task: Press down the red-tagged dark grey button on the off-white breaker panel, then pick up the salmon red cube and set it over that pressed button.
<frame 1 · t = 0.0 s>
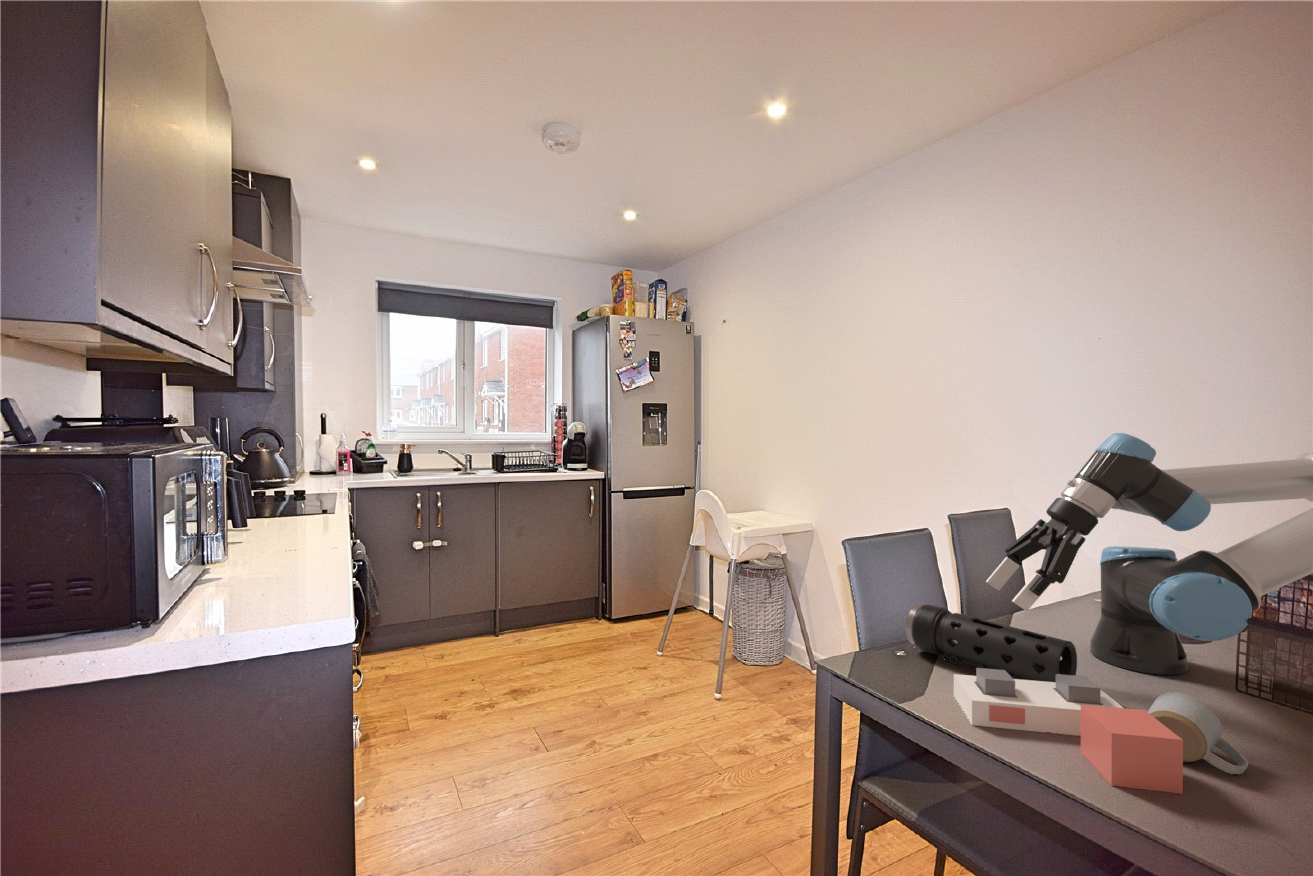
hand: (1004, 595, 109), 15 cm above the table, tool tilted 35°, fingers open, 13 cm apart
button plain: (1077, 693, 92), point 5 cm above the table, slide at 0.0 cm
salmon red cube: (1128, 771, 78), on the table
button tagged: (995, 686, 94), point 5 cm above the table, slide at 0.0 cm
ceramic mug: (1193, 757, 82), on the table
muzzle brake: (983, 673, 111), on the table
breaker panel: (1035, 717, 93), on the table
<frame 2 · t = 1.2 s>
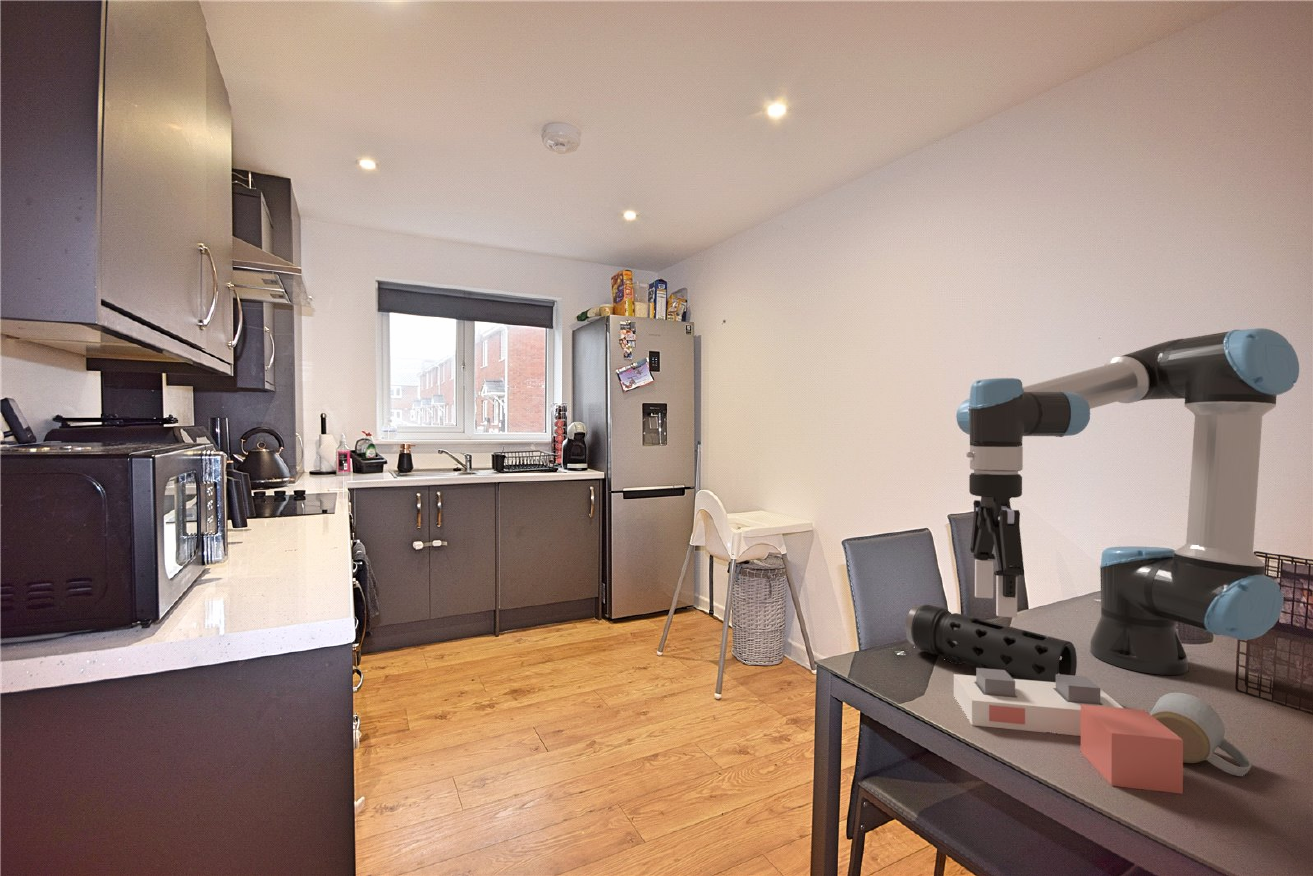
hand: (994, 606, 94), 18 cm above the table, tool pointing down, fingers open, 10 cm apart
nothing on the table moved.
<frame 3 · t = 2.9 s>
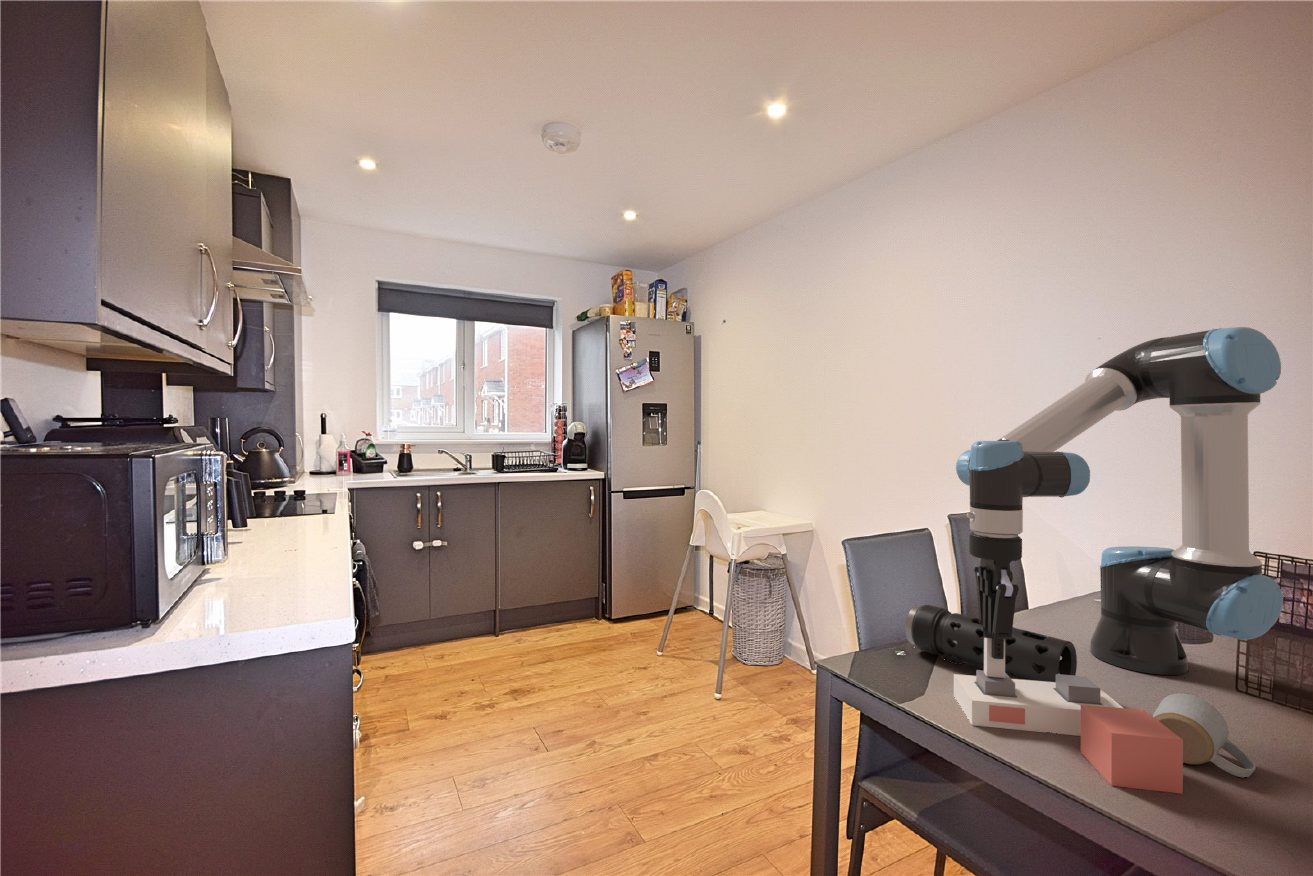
hand: (994, 675, 94), 6 cm above the table, tool pointing down, fingers closed
button tagged: (995, 688, 94), point 4 cm above the table, slide at 0.4 cm, touching gripper
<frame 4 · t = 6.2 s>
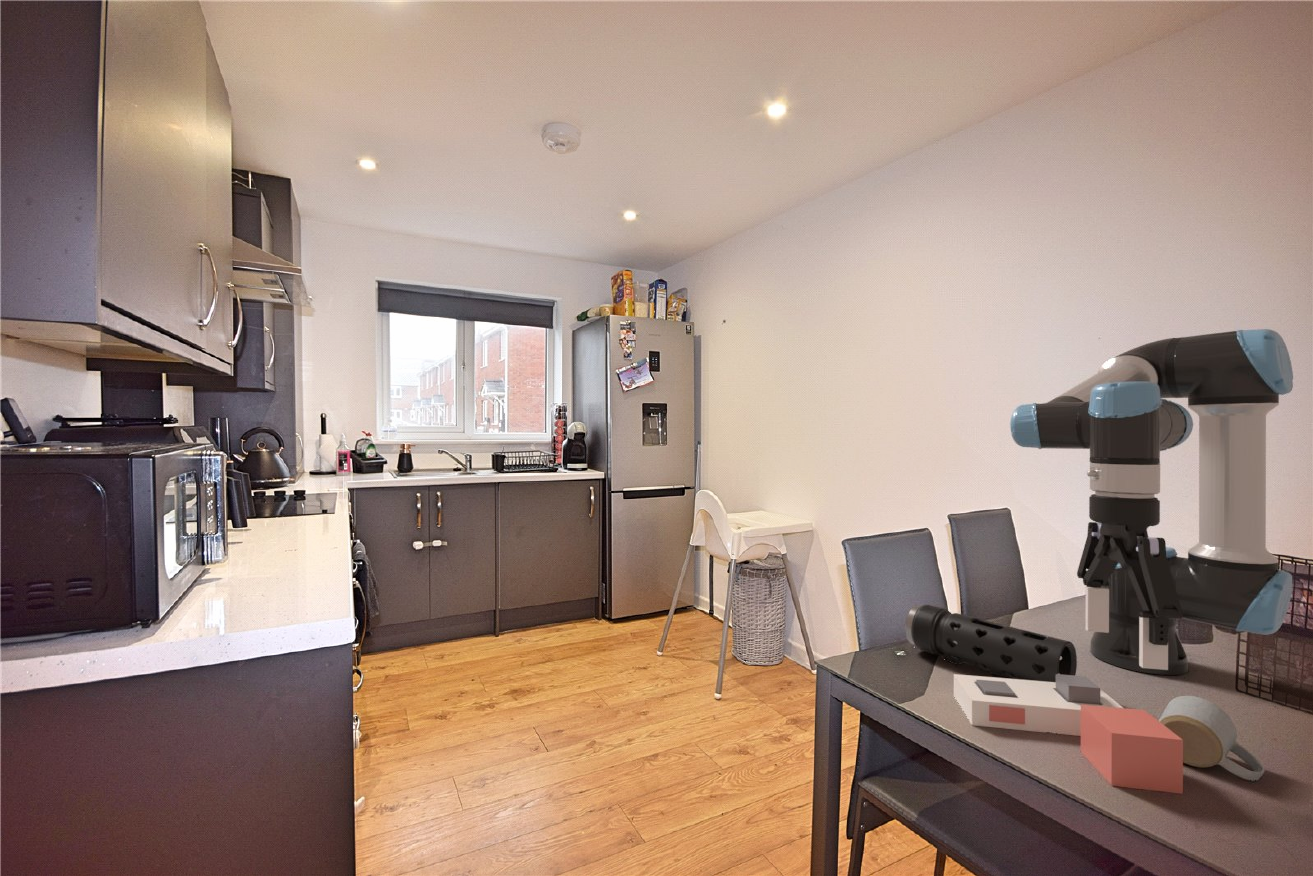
hand: (1122, 648, 78), 17 cm above the table, tool pointing down, fingers open, 13 cm apart
button tagged: (995, 698, 94), point 2 cm above the table, slide at 2.0 cm, touching breaker panel
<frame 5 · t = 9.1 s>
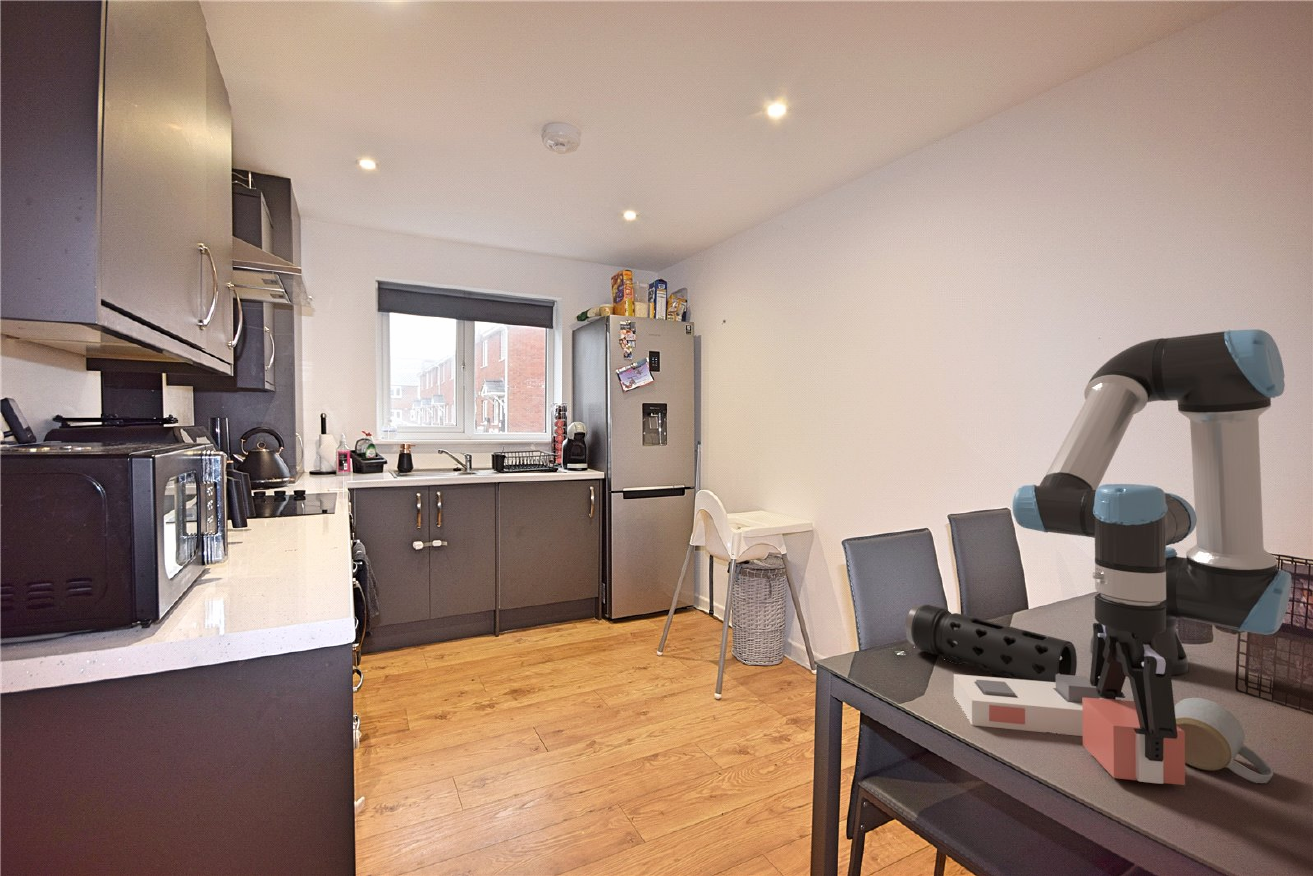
hand: (1129, 761, 78), 1 cm above the table, tool pointing down, fingers closed on salmon red cube, 8 cm apart
salmon red cube: (1130, 763, 78), point 1 cm above the table, touching gripper
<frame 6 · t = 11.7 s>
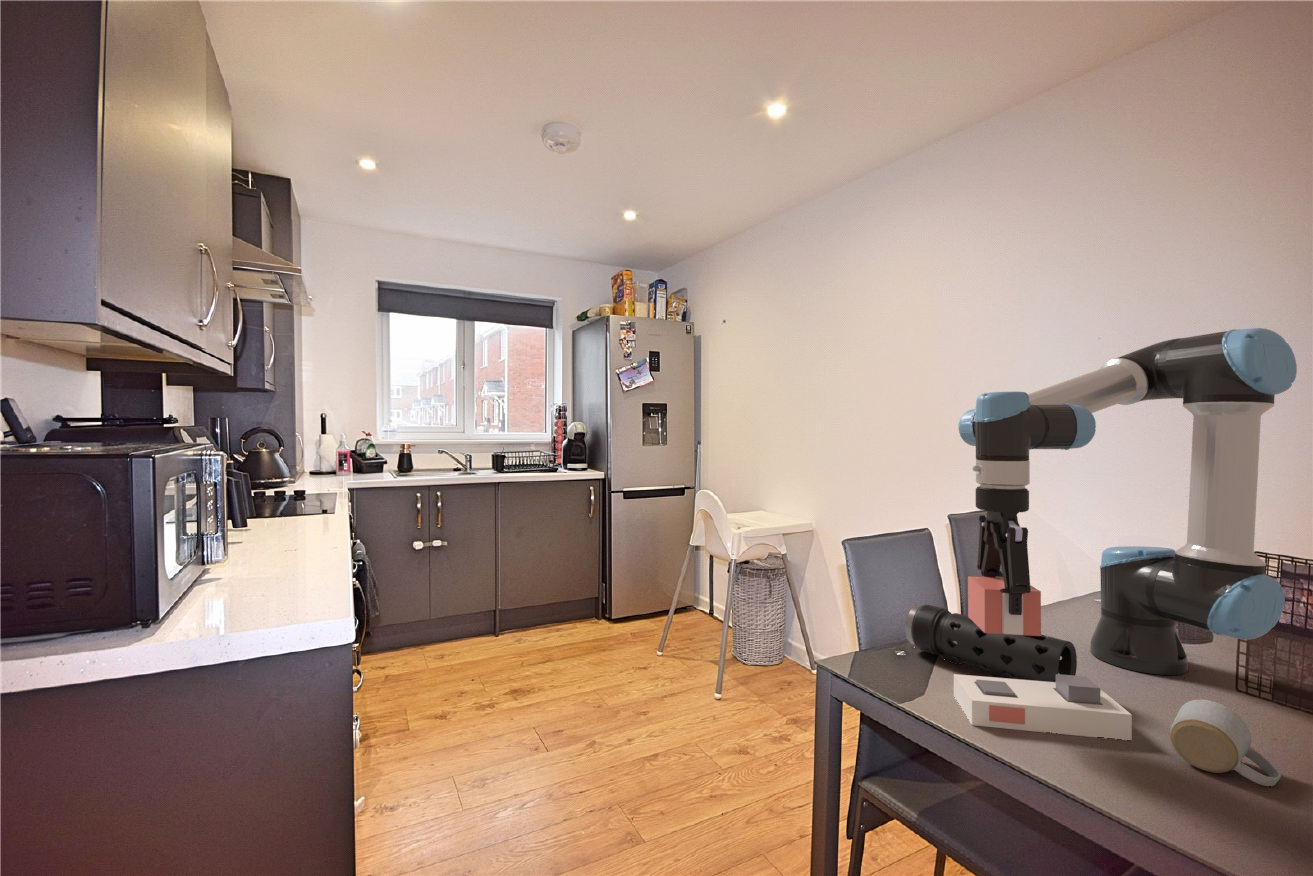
hand: (1001, 624, 93), 15 cm above the table, tool pointing down, fingers closed on salmon red cube, 8 cm apart
salmon red cube: (1002, 626, 93), point 15 cm above the table, touching gripper
when the fingers open (6 cm above the table, at t = 14.1 s): salmon red cube drops 1 cm, resting on breaker panel.
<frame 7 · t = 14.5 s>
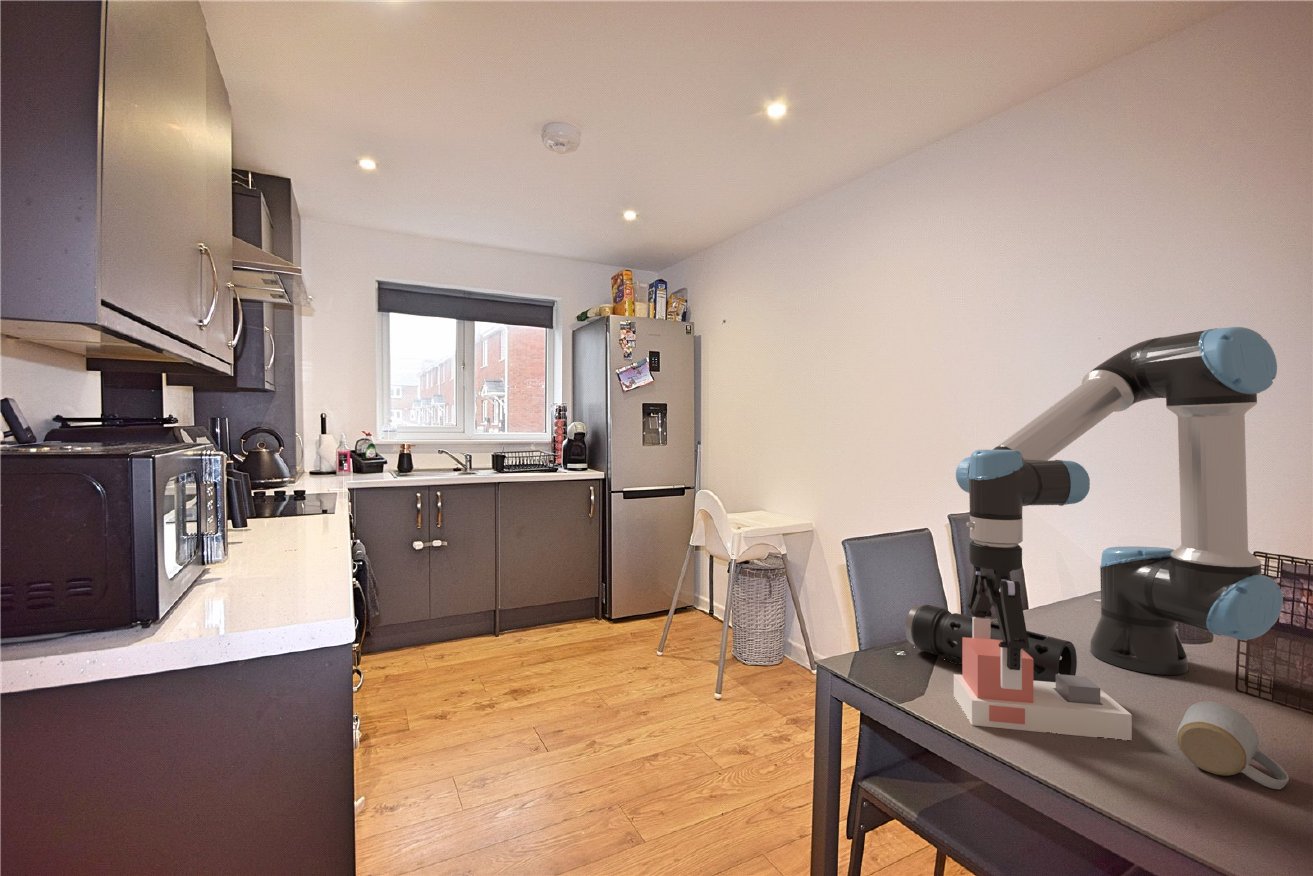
hand: (995, 670, 94), 7 cm above the table, tool pointing down, fingers open, 13 cm apart
salmon red cube: (996, 689, 94), point 4 cm above the table, touching breaker panel
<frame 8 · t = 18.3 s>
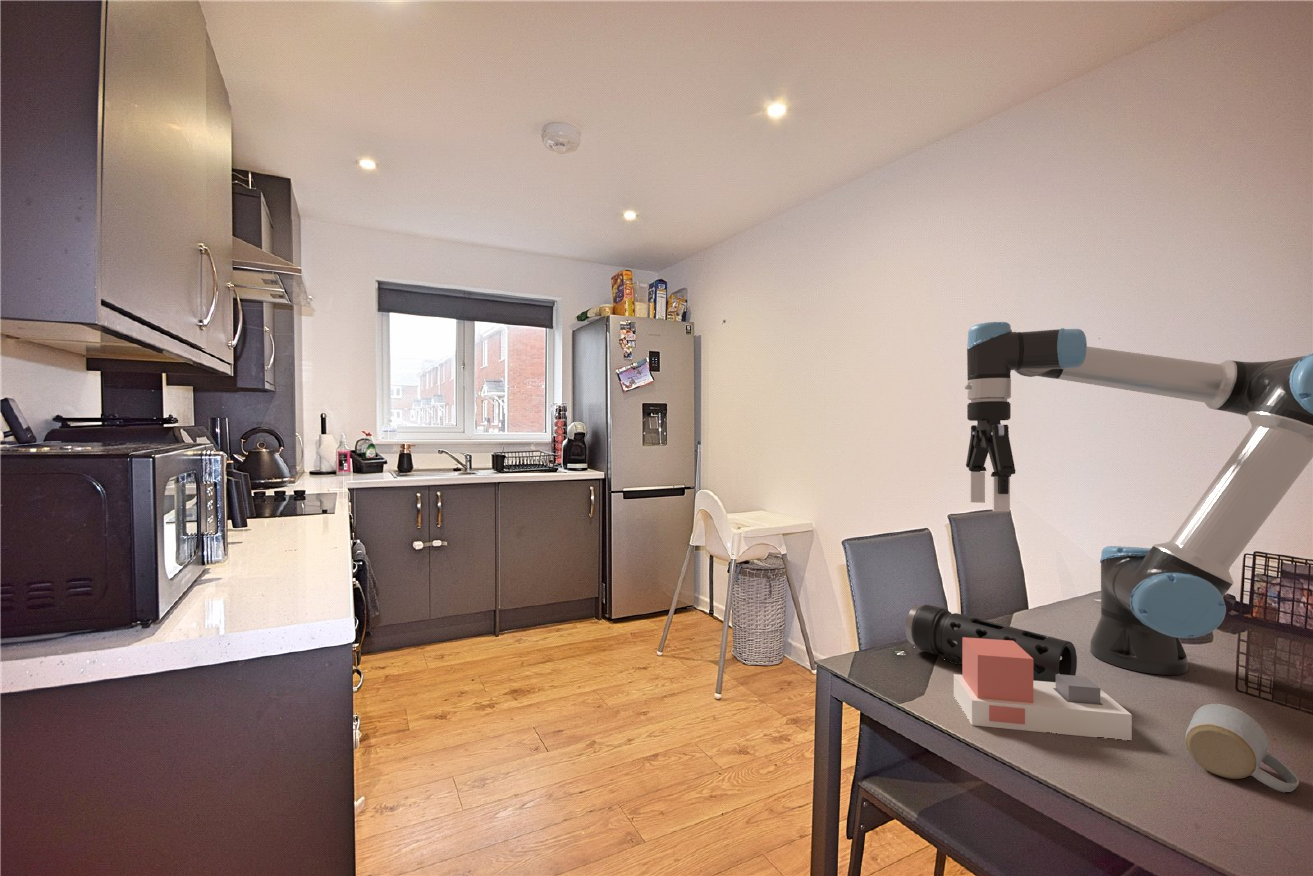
hand: (988, 506, 114), 32 cm above the table, tool pointing down, fingers open, 13 cm apart
at the end: button tagged slide at 2.0 cm; salmon red cube 0.1 cm from the target spot on the breaker panel, point 4.0 cm above the breaker panel's base; button plain slide at 0.0 cm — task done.
